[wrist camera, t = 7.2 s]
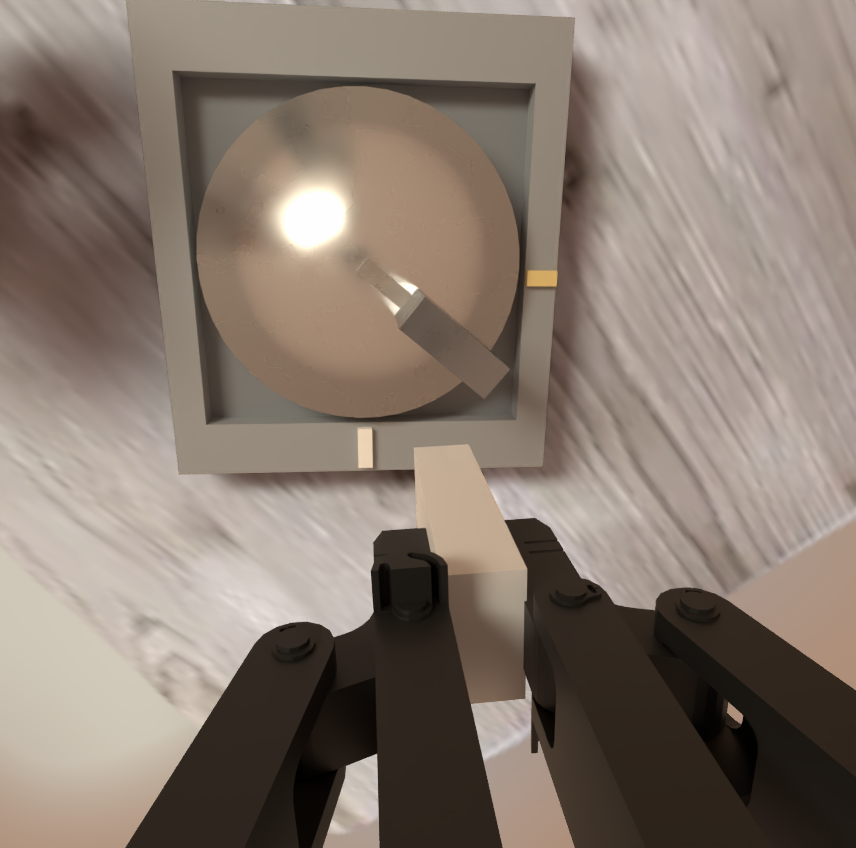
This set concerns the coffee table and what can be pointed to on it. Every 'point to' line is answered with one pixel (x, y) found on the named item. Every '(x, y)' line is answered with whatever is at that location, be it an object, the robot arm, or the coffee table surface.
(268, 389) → the board
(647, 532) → the coffee table surface
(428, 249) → the dial
